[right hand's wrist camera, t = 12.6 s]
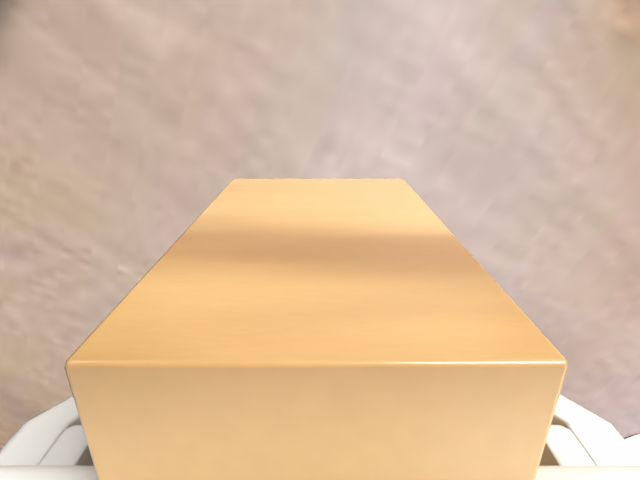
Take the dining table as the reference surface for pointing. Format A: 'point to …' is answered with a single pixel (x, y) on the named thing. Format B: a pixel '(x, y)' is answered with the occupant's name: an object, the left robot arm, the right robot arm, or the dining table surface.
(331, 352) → the bar
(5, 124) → the dining table surface
